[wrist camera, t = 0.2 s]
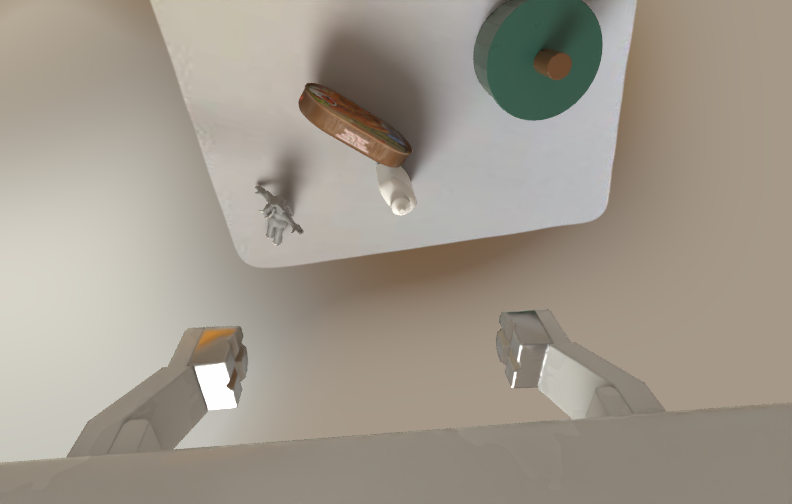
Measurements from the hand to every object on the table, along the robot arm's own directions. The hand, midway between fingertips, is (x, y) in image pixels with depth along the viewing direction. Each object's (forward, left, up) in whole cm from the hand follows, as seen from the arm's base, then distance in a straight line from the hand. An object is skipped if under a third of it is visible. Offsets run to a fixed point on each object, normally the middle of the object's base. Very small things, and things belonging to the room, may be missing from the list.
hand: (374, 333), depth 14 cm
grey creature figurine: (+18, -11, -48) cm, 53 cm away
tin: (+5, 0, -48) cm, 48 cm away
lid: (-3, +21, -40) cm, 45 cm away
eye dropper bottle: (+13, +5, -48) cm, 50 cm away
